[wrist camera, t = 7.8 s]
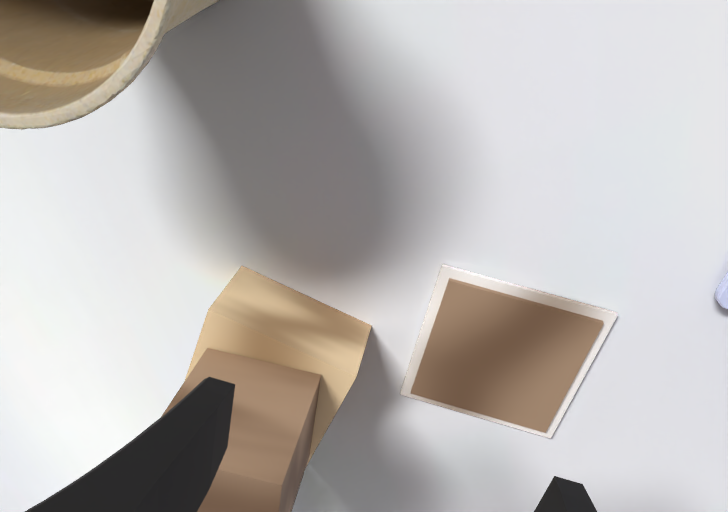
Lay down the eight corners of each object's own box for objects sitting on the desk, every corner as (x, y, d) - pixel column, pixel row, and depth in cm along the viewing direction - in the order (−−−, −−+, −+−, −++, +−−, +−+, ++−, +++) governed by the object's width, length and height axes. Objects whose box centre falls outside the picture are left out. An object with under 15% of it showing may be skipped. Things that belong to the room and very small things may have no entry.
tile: (616, 312, 21) (619, 318, 21) (549, 435, 25) (551, 442, 24) (442, 264, 22) (441, 269, 21) (400, 391, 25) (399, 397, 25)
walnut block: (309, 455, 23) (271, 571, 19) (206, 429, 24) (146, 538, 19) (321, 374, 21) (281, 485, 17) (207, 347, 21) (139, 449, 17)
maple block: (372, 322, 24) (356, 376, 21) (323, 412, 27) (303, 470, 24) (243, 263, 24) (208, 309, 21) (209, 360, 27) (174, 412, 24)
